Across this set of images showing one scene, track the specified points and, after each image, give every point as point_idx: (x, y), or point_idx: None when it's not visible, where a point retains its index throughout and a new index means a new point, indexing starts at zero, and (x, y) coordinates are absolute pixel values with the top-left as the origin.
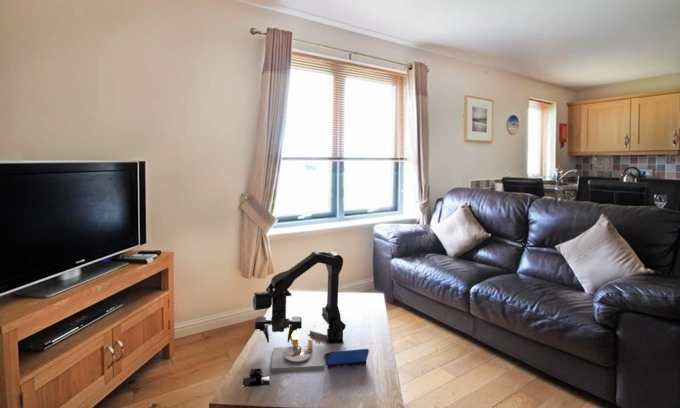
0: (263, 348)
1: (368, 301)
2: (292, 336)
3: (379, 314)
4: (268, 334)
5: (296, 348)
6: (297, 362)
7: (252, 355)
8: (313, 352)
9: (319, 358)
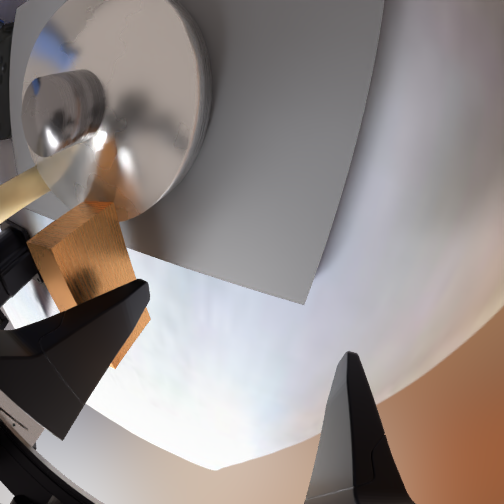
0: (366, 336)
1: None
2: None
3: (4, 308)
4: (326, 441)
5: (45, 109)
6: None
7: (471, 287)
8: None
9: (17, 72)
